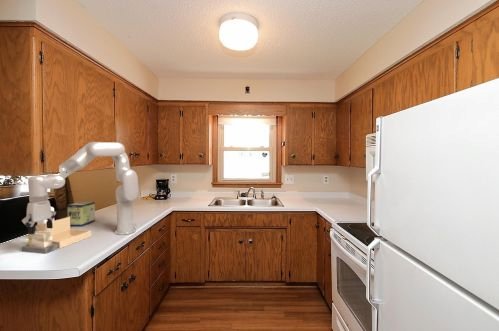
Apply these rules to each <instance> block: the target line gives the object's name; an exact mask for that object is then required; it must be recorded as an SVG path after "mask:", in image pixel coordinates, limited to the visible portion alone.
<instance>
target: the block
mask: <svg viewBox="0 0 499 331" xmlns="http://www.w3.org/2000/svg"><path fill="white" fill-rule="evenodd" d="M27 235H28V244H29V246H32V247H43V248H45V247H47V246H50V245H52V232H48V231H36V230H35V234H29V233H28V234H27Z"/></svg>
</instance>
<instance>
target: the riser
mask: <svg viewBox="0 0 499 331" xmlns="http://www.w3.org/2000/svg"><path fill="white" fill-rule="evenodd" d="M57 250H58V249H57V244H52V245H50V246H47V247H45V248H43V247H32V246H29V243H28V244H26V245H23V246H21V252H23V253H32V254H42V255H46V254H48V253H52V252H54V251H57Z"/></svg>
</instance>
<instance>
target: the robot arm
mask: <svg viewBox="0 0 499 331" xmlns="http://www.w3.org/2000/svg"><path fill="white" fill-rule="evenodd" d="M127 154H128V153H126V148H125V145H124V144H123V143H121V142H119V141H118V142H113V141H112V142H109V141H108V142H107V141H105V142H103V141H93V142H92V141H91V142H87V143H86V144H85V145H84V146H83V147H81V148H80V149H79V150H78V151H77V152H76V153H74V154H73V155H71V157H70V158H68V159H66V160H65V161H64V162H62V163H61V164H59V165H58V166H59V172H60V173H58V174H49V173H48V174H49V175H48V174H47V175H45V176H44V175H35V176H29V177H28V179H27V183H28V184H27V185H28V187H27V188H28V196H29V197H28V198H29V199H28V200H29V202H28V203H27V206H26V216H25V217H24V218H23V219H21V222H22V223H23V225H24V226H26V228H27V232H28V233H29V234H35V231H36V229H35V226H34V225H35V223H37V222H38V221H42V220H45V219H46V220H48V221H47V222H46V223H47V228H53V225H52V221H53V219H54V220H55V217H56V214H57V211H55V210H54V211H51V207H52V206H51V202H50V200H49V199H50V195H48V190H49V189H50V190H51V189H52V190H53V189H60V188H62V187H64V186H65V184H66V178H67V177H69V176H70V175H72V174H73V173H76V172H78V171H81V170H82V169H83V168H85V167H86V166H87V165H89V163H90V162H92V161H93V160H95V158H96V157H111V158H112V160H113V161H114V166H115V177H116V180H117V182H119V183H121V185H119V186H118V187H117V188H116V190H115V200H116V218H117V220H116V222H117V224H116V226H117V229H116V230H115V231H114V234H115V235H119V236H120V235H121V236H122V235H130V234H134V233H136V231H137V229H136V228H135V227H136V226H137V225H138V224H137V222H134V202H133V201H136V199H137V198H138V196H139V191H140V190H139V177H138V174H137V171H135V170H134V169H131V164H130V159H129V157H128V155H127ZM66 172H67V173H66ZM51 213H52V215H51Z"/></svg>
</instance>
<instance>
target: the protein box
mask: <svg viewBox="0 0 499 331" xmlns="http://www.w3.org/2000/svg"><path fill="white" fill-rule="evenodd" d="M95 205H96V204H95V201H78V202H75V203H70V204H68V205H67V206H66V207H67V217H70V227H84V226H86V225H89V224H92V223H94V222H95V221H96V209H95V208H96V206H95Z"/></svg>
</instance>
